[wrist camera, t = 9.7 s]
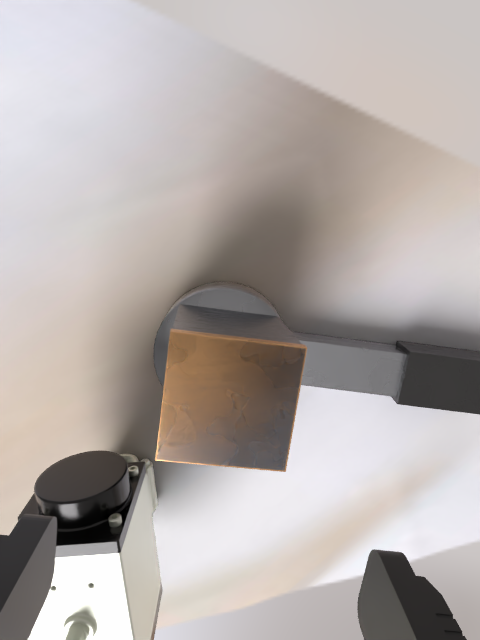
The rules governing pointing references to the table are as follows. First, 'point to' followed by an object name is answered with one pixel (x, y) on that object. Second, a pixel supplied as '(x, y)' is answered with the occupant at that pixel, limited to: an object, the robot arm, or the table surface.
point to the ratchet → (352, 357)
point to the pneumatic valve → (100, 548)
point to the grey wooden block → (229, 389)
